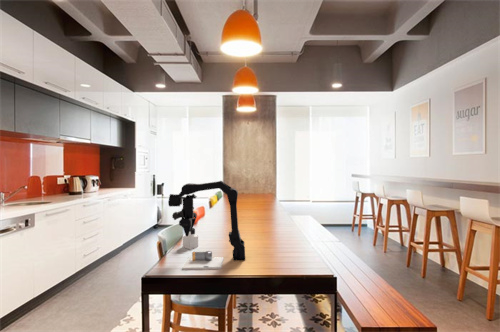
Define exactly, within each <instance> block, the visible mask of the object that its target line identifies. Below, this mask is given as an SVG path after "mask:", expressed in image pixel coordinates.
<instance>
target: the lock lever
mask: <svg viewBox="0 0 500 332" xmlns="http://www.w3.org/2000/svg"><path fill="white" fill-rule="evenodd" d="M191 256H192V257H191V258H192V261H195V260H205V261H210V260H212V257H213V252H212V251H211V250H206V251H193V252H192V255H191Z"/></svg>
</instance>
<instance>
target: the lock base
mask: <svg viewBox="0 0 500 332" xmlns="http://www.w3.org/2000/svg"><path fill="white" fill-rule="evenodd" d="M223 263H224V256H222V257H221V256H217V257H215V256H214V257H213V256H212V260H210V261H205V260H195V261H192V257H188V258H187V259H186V261H185V262H184V264H183V266H182V270H183V271H184V270H185V271H186V270H189V271H190V270H222V267H223Z"/></svg>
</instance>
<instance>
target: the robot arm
mask: <svg viewBox="0 0 500 332" xmlns="http://www.w3.org/2000/svg"><path fill="white" fill-rule="evenodd" d="M216 189H217V190H218V189H220V190H221V191H222V192H223V193H224V194H225V195H226V196H227V200H228V204H229V210H230V211H229V212H230V224H231V225H230V226H231V231H229V232H228V238H229V240H228V242H229V243H230V245H231V246H232V247H233V250H232V260H233V261H235V262H236V261H246V247H245V240H244V239H242V237H241V233H240V230H239V222H238V221H239V220H238V206H237V205H238V204H237V203H238V198H239V197H238V195H239V192H238V190H237V189H236V188H234V187H231V186H230V185H228V184H227V183H225V182H224V181H223V180H219V181H212V182H204V183H186V184H183V185H182V186H181V191H180V193H178V194H174V193H173V194H171V193H170V194H169V196H168V207H181V205H182V208H181V210H180V211H179V210H178V212H177V211H175V212H173V213H172V216H171V217H172V219H173V220H174V221H176V220H177V219H180V218H181V219H180V220H179V221H178V225H179V226H180V227H182V228H183V231H184V234H185V235H186V236H188V235H189V232H191V231H192V228H194V226H195V223H196V220H197V213H196V212H194V210H195V207H194V199H196V198H197V197H198V196H197V195H196V194H195V193H197V192H202V191H208V190H216ZM185 235H184V236H185Z"/></svg>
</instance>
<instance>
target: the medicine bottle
mask: <svg viewBox="0 0 500 332" xmlns="http://www.w3.org/2000/svg"><path fill="white" fill-rule="evenodd" d="M198 247H199V236H198V235H197V234H196V228H195V227H193V228H192V231H191V232H189V235H188V236H186V235H183V236H182V248H184V249H188V250H192V249H194V248H195V249H196V248H198Z"/></svg>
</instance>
